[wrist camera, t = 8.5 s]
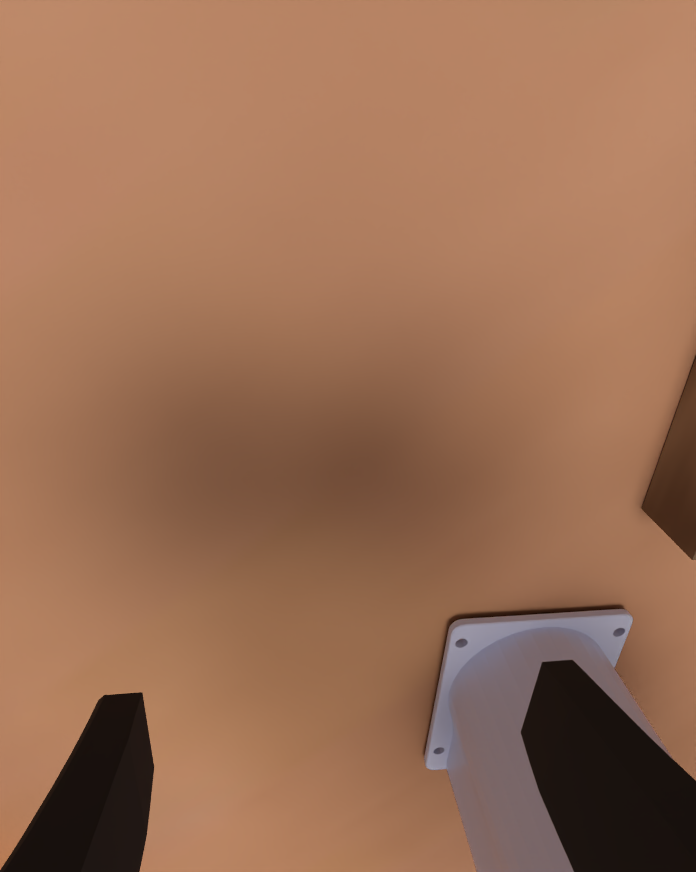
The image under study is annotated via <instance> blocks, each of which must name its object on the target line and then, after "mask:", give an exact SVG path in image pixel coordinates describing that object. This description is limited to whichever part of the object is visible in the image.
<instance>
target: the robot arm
mask: <svg viewBox="0 0 696 872" xmlns="http://www.w3.org/2000/svg"><path fill="white" fill-rule="evenodd" d="M632 622H633V618H632V616H631V615H630V613H629V612H628V611H627V610H625V609H611V610H595V611H579V612H564V613H548V614H532V615H516V616H500V617H484V618H469V619H459V620H456V621H454V622H453V623H452V624H451V625H450V627H449V631H448V636H447V641H446V646H445V652H444V657H443V662H442V667H441V672H440V678H439V683H438V688H437V693H436V699H435V704H434V709H433V714H432V719H431V725H430V730H429V735H428V740H427V746H426V751H425V756H424V761H425V765H426V767H427V768H428V769H430V770H440V769H447V771H448V775H449V778H450V782H451V785H452V788H453V792H454V795H455V799H456V802H457V805H458V809H459V812H460V816H461V819H462V823H463V826H464V829H465V833H466V836H467V840H468V843H469V846H470V850H471V853H472V857H473V860H474V863H475V867H476V870H477V872H696V781H695V780H694V779H693V778H692V777H691V776H690V775H689V774H688V773H687V772H686V771H685V770H684V769H683V768H682V767H680V766H679V765H678V764H677V763H676V762H675V761H674V760H673V758H672V756H671V755H670V753H669V752H668V750H667V749H666V747H665V746H664V744H663V743H662V741H661V740H660V738H659V736H658V735H657V733H656V732H655V730H654V729H653V727H652V726H651V724H650V723H649V721H648V720H647V718H646V717H645V715H644V713H643V712H642V710H641V709H640V707H639V706H638V704H637V703H636V701H635V700H634V698H633V697H632V695H631V693H630V692H629V690H628V689H627V687H626V686H625V684H624V683H623V681H622V680H621V678H620V677H619V675H618V674H617V672H616V670H615V669H614V668H615V666H616V663H617V661H618V658H619V655H620V653H621V650H622V648H623V645H624V643H625V640H626V638H627V635H628V632H629V630H630V627H631V625H632ZM459 639H461V640H459ZM153 773H154V764H153V757H152V751H151V745H150V738H149V732H148V726H147V719H146V713H145V707H144V700H143V694H142V692H141V693H128V694H115V695H104V696H103V697H102V698H101V699H100V700H98V702H97V704H96V706H95V709H94V711H93V713H92V715H91V717H90V719H89V721H88V723H87V725H86V727H85V728H84V730H83V732H82V734H81V736H80V738H79V740H78V742H77V744H76V745H75V747H74V749H73V751H72V753H71V755H70V756H69V758H68V760H67V762H66V764H65V765H64V767H63V769H62V771H61V772H60V774H59V776H58V778H57V779H56V781H55V783H54V785H53V786H52V788H51V790H50V791H49V793H48V795H47V796H46V798H45V800H44V801H43V803H42V805H41V806H40V808H39V810H38V811H37V813H36V815H35V816H34V818H33V819H32V821H31V823H30V824H29V826H28V828H27V829H26V831H25V833H24V834H23V836H22V838H21V839H20V841H19V842H18V844H17V846H16V847H15V849H14V850H13V852H12V853H11V855H10V856H9V858H8V859H7V861H6V862H5V864H4V865H3V867H2V868H1V870H0V872H139V871H140V866H141V861H142V856H143V851H144V846H145V841H146V836H147V828H148V819H149V810H150V802H151V792H152V782H153Z"/></svg>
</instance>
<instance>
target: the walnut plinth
mask: <svg viewBox="0 0 696 872" xmlns="http://www.w3.org/2000/svg"><path fill="white" fill-rule="evenodd" d="M642 510H643V511H644V512H645V513H646V514H647V515H648V516H649V517H650V518H651V519H652V520H653V521H654V522H655V523H656V524H657V525H658V526H659V527H660V528H661V529H662V530H663V531H664V532H665V533H666V534H667V535H668V536H669V537H670V538H671V539H672V540H673V541H674V542H675V543H676V544H677V545H678V546H679V547H680V548H681V549H682V550H683V551H684V552H685V553H686V554H687V555H688V556H689V557H690V558H691V559H692V560H696V358H695V361H694V364H693V367H692V369H691V372H690V375H689V378H688V381H687V383H686V386H685V389H684V392H683V395H682V397H681V400H680V403H679V406H678V409H677V411H676V414H675V417H674V420H673V423H672V425H671V428H670V431H669V434H668V436H667V439H666V442H665V445H664V448H663V450H662V453H661V456H660V459H659V462H658V464H657V467H656V470H655V473H654V476H653V478H652V481H651V484H650V487H649V490H648V492H647V495H646V498H645V501H644V504H643V506H642Z"/></svg>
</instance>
